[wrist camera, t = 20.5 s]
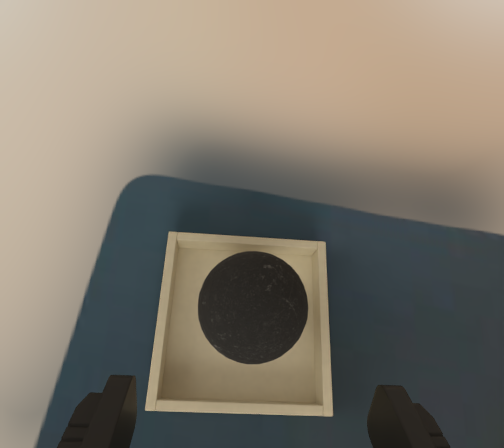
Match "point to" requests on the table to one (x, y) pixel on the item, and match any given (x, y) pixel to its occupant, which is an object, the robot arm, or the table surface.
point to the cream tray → (217, 365)
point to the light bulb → (252, 307)
